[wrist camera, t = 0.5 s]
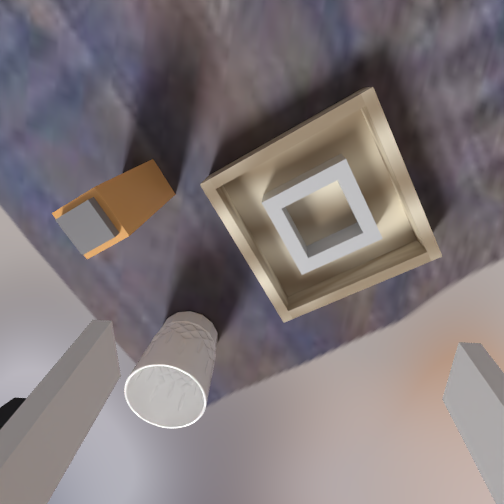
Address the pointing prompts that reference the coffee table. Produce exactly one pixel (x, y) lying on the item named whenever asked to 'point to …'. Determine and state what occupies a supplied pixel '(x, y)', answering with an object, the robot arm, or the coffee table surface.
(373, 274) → the box
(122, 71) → the coffee table surface
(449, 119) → the coffee table surface
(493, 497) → the robot arm
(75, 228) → the connector
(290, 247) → the socket
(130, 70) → the coffee table surface
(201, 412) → the white cup
